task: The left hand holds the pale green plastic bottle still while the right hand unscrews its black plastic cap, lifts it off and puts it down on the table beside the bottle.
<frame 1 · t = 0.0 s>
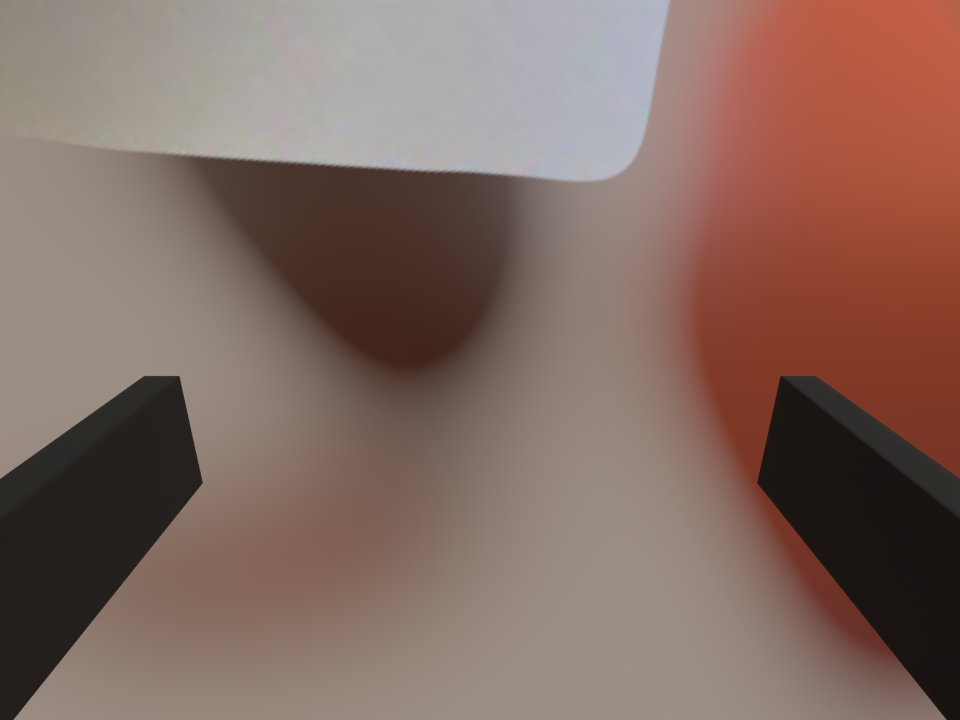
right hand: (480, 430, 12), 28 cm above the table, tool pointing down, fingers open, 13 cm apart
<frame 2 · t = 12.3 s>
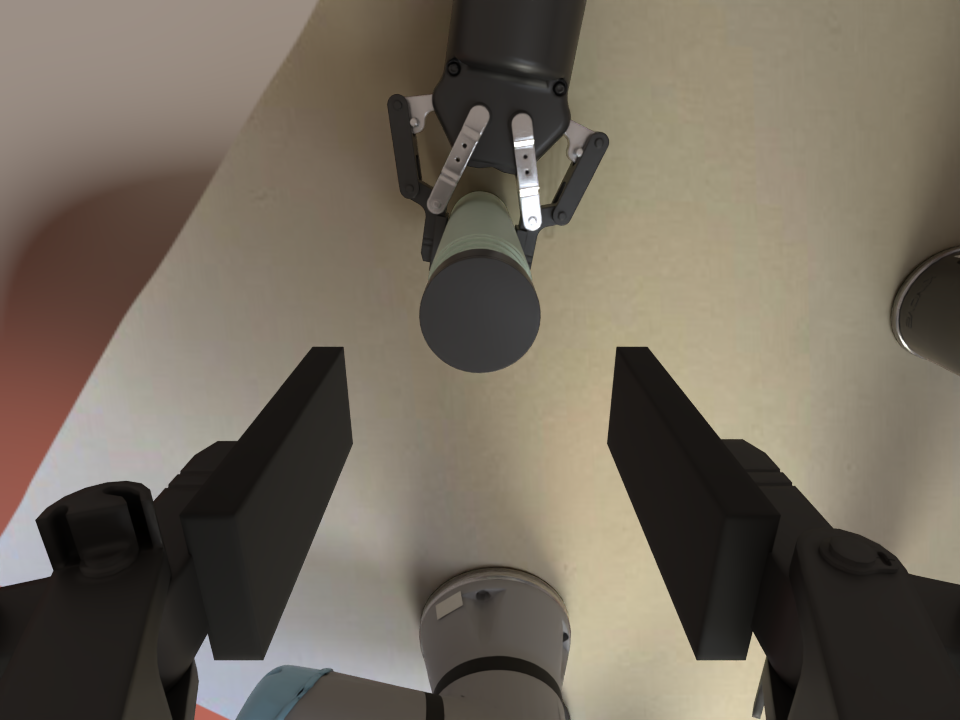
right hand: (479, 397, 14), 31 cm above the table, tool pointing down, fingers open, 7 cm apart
left hand: (473, 274, 38), fingers closed on bottle, 4 cm apart
bottle: (479, 222, 43), on the table, touching left hand
cap: (479, 315, 21), point 24 cm above the table, screwed on, not yet turned
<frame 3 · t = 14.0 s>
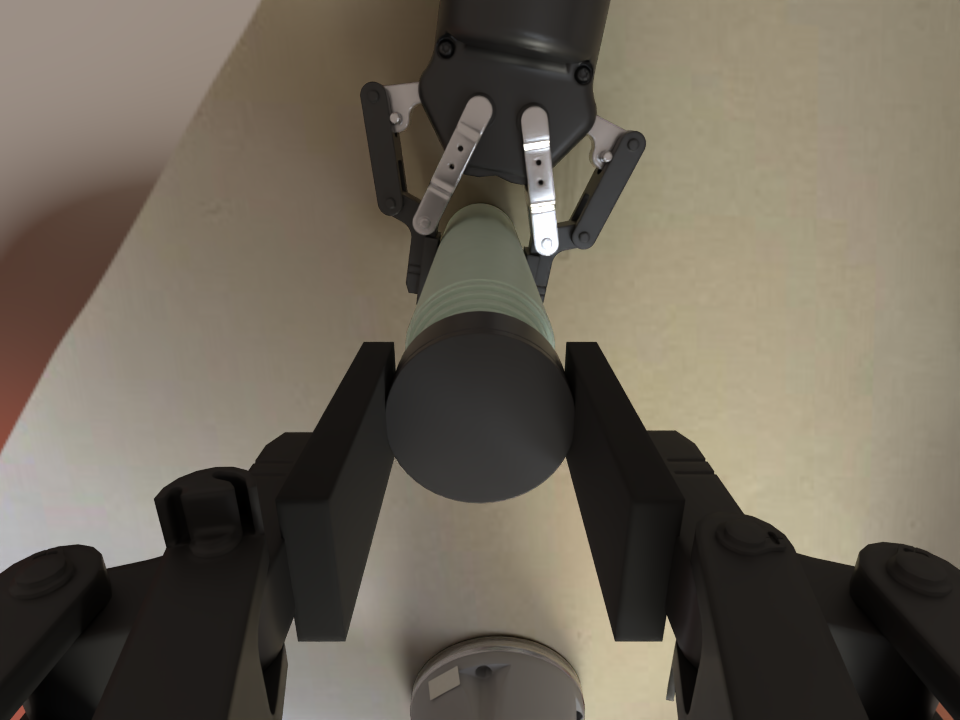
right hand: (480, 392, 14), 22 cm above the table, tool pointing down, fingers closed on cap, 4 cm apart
left hand: (472, 308, 30), fingers closed on bottle, 4 cm apart
bottle: (480, 240, 35), on the table, touching left hand
cap: (480, 417, 13), point 24 cm above the table, screwed on, not yet turned, touching right hand
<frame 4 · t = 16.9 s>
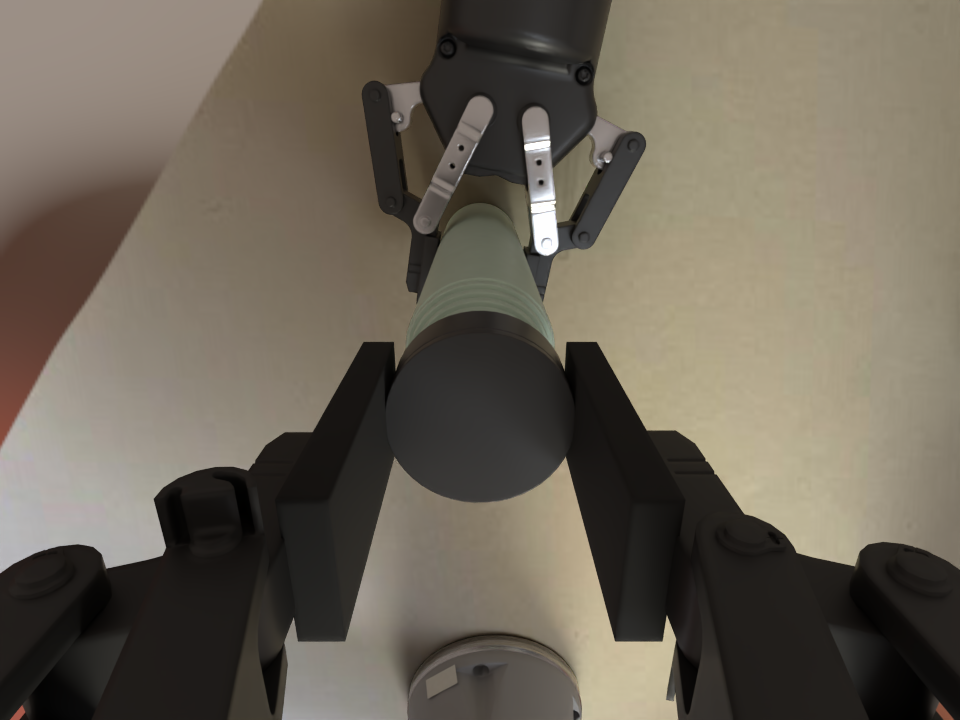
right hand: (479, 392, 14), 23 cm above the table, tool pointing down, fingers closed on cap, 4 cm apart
left hand: (472, 307, 31), fingers closed on bottle, 4 cm apart
bottle: (480, 240, 35), on the table, touching left hand
cap: (480, 417, 13), point 24 cm above the table, turned 87° so far, risen 0.1 cm, still on its thread, touching right hand
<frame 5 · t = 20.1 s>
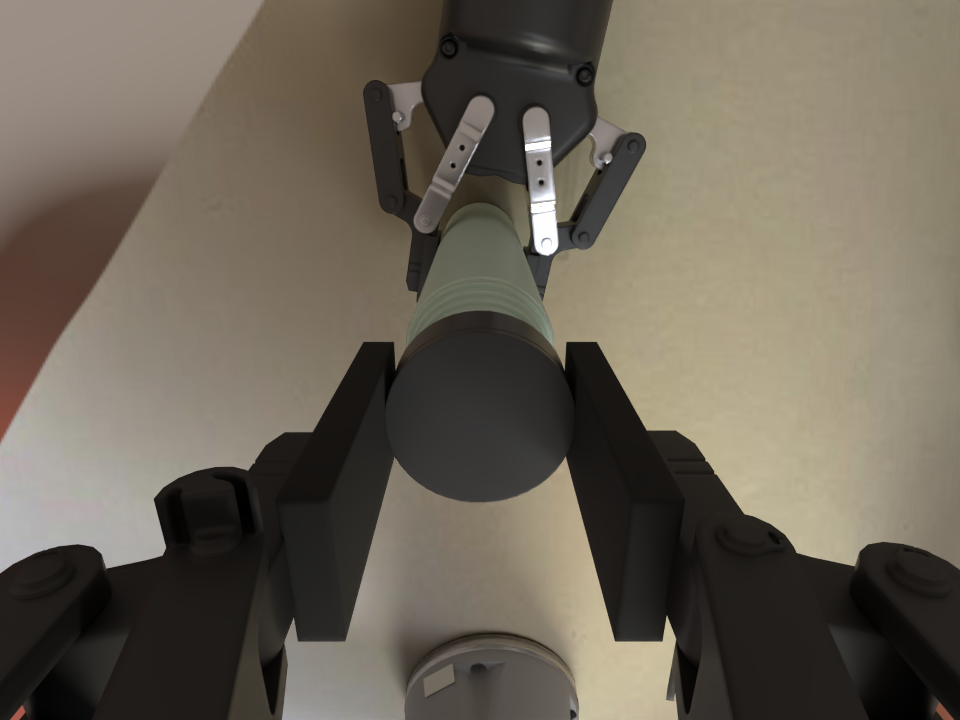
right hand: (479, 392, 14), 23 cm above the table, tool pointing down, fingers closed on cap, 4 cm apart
left hand: (471, 307, 31), fingers closed on bottle, 4 cm apart
bottle: (480, 239, 35), on the table, touching left hand
cap: (480, 417, 13), point 24 cm above the table, turned 175° so far, risen 0.2 cm, still on its thread, touching right hand
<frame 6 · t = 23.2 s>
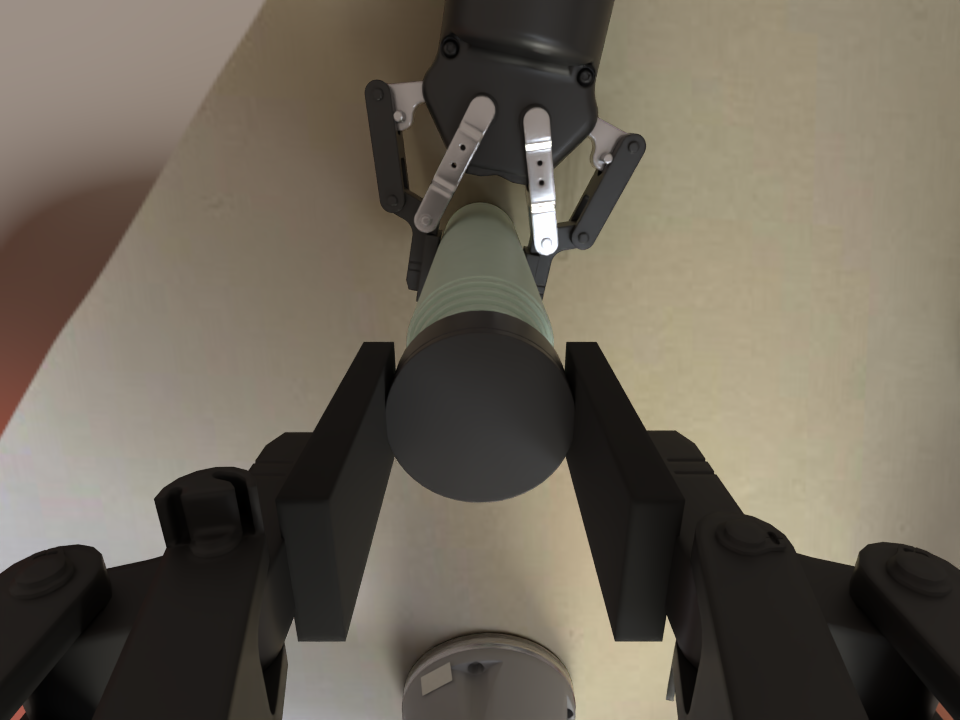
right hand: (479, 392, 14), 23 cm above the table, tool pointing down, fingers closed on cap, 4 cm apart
left hand: (471, 306, 31), fingers closed on bottle, 4 cm apart
bottle: (480, 239, 35), on the table, touching left hand
cap: (480, 417, 13), point 24 cm above the table, turned 262° so far, risen 0.3 cm, still on its thread, touching right hand
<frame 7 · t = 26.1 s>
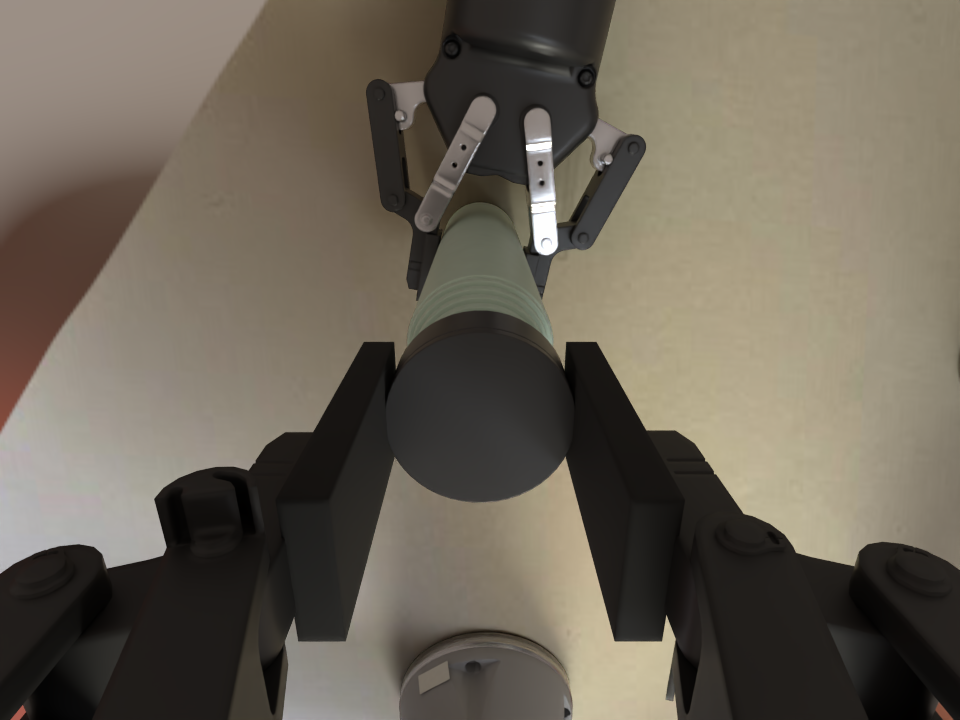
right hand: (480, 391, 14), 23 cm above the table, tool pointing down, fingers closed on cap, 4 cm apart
left hand: (471, 306, 31), fingers closed on bottle, 4 cm apart
bottle: (480, 239, 36), on the table, touching left hand
cap: (480, 417, 13), point 24 cm above the table, turned 349° so far, risen 0.4 cm, still on its thread, touching right hand
when the right hand's fingers open (1 cm above the table, at t = 33.2 s): cap drops 1 cm, point 1 cm above the table.
when the left hand's fingers open (6 cm above the table, at t = 34.5 s): bottle stays where it is, on the table.
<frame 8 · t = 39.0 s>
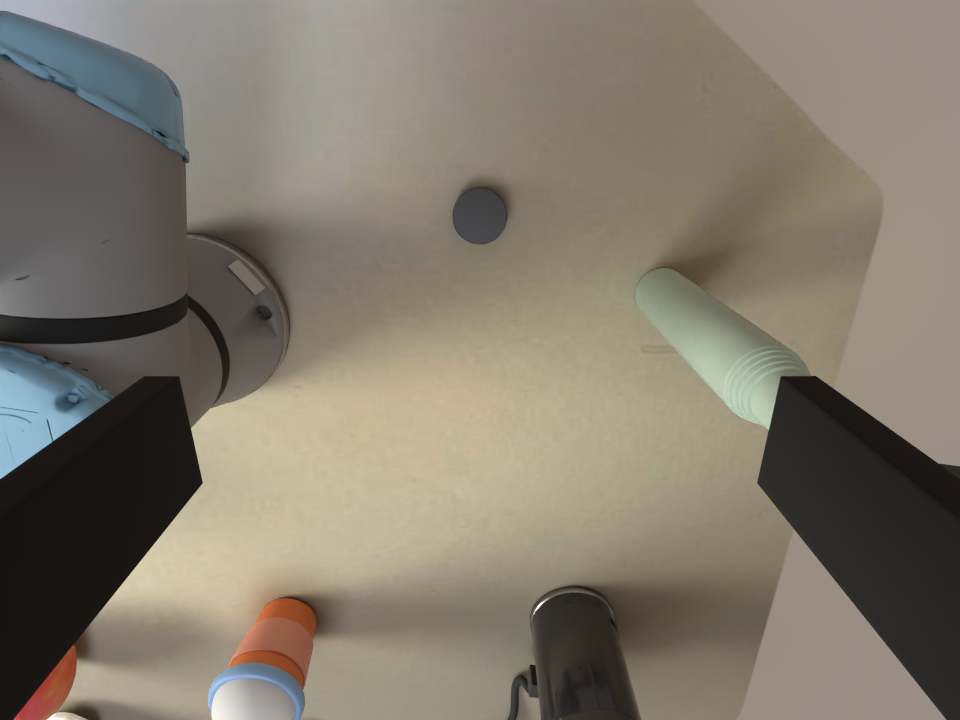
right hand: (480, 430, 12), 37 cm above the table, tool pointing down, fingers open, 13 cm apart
cup with straw: (290, 616, 64), on the table
bottle: (660, 293, 49), on the table
cap: (479, 216, 46), point 1 cm above the table, off its thread
apple: (57, 639, 65), on the table
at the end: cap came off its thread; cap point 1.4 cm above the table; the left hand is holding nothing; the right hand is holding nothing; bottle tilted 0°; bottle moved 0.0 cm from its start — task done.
